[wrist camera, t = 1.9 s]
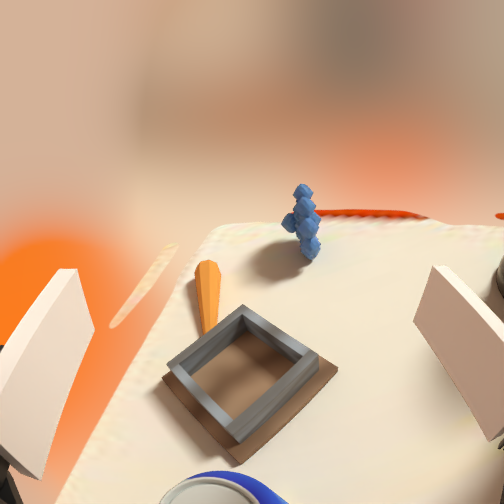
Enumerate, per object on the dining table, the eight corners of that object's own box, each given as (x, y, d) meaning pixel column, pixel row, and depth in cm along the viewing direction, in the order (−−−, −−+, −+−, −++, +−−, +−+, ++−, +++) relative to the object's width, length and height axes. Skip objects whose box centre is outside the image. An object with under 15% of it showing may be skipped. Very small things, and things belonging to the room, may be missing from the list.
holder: (337, 371, 35) (338, 351, 32) (241, 464, 28) (230, 455, 25) (250, 313, 45) (243, 292, 43) (164, 381, 38) (150, 363, 36)
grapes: (284, 233, 60) (274, 176, 53) (319, 228, 59) (313, 171, 52) (286, 274, 51) (275, 210, 44) (327, 268, 50) (323, 204, 42)
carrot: (205, 278, 56) (189, 263, 53) (225, 266, 54) (210, 251, 52) (208, 380, 41) (187, 369, 38) (235, 371, 40) (214, 359, 37)
